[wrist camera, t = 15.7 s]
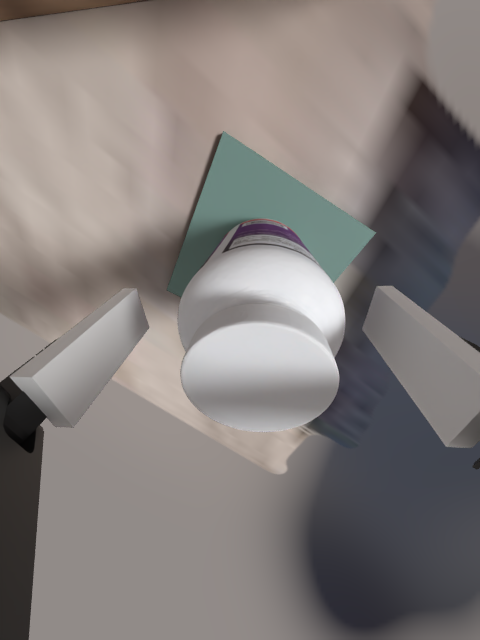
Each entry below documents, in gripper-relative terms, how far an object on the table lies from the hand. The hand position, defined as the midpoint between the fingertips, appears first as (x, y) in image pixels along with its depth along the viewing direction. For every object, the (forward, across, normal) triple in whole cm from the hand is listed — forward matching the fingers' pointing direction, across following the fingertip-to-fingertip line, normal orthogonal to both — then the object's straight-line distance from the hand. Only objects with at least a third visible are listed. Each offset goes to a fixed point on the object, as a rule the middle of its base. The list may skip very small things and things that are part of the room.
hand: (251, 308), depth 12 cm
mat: (+9, 0, 0) cm, 9 cm away
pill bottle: (+9, +1, 0) cm, 9 cm away
